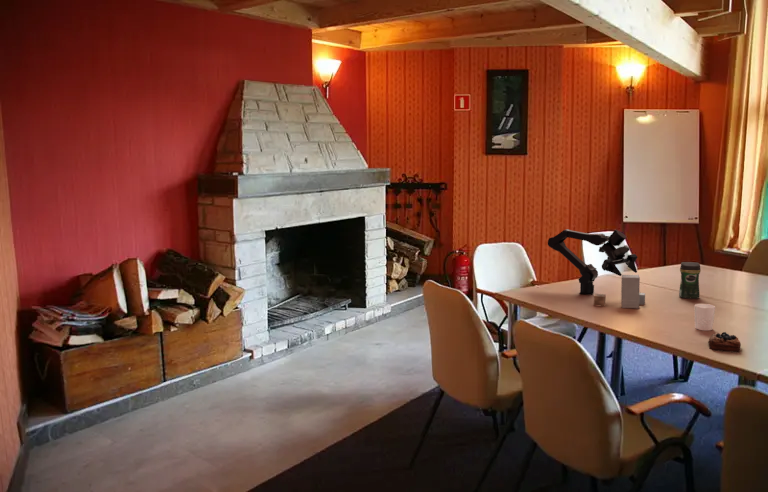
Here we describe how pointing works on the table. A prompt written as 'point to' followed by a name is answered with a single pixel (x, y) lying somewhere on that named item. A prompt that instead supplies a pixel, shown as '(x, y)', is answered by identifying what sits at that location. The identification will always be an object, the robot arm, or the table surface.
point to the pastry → (724, 342)
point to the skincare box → (630, 291)
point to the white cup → (704, 316)
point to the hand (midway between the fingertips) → (628, 273)
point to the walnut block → (599, 299)
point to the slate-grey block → (642, 298)
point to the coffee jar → (689, 280)
